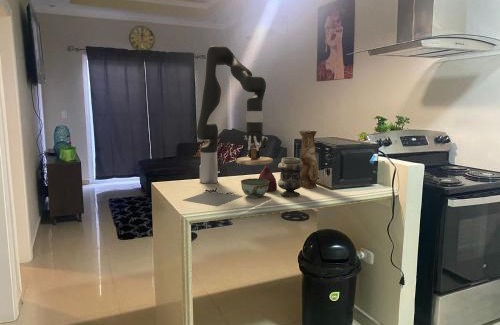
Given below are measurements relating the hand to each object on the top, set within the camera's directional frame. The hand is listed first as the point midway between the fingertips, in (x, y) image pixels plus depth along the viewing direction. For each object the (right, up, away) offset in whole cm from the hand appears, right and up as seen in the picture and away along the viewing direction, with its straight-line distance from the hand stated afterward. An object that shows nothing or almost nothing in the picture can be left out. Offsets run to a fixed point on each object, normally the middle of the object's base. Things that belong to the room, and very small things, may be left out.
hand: (254, 158), depth 178 cm
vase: (+29, -15, +26) cm, 42 cm away
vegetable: (+6, -16, +19) cm, 26 cm away
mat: (-19, -19, 0) cm, 27 cm away
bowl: (0, -19, +3) cm, 19 cm away
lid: (0, -2, 0) cm, 2 cm away
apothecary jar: (+17, -18, +8) cm, 26 cm away
